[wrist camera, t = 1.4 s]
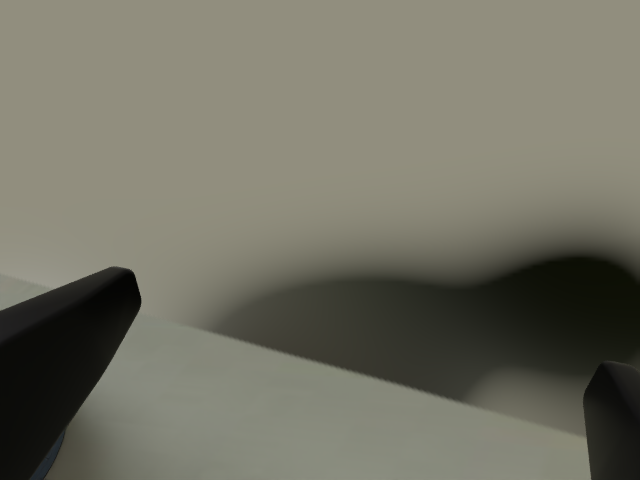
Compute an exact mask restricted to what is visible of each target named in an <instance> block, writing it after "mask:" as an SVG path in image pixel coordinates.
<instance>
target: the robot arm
mask: <svg viewBox="0 0 640 480" xmlns="http://www.w3.org/2000/svg"><path fill="white" fill-rule="evenodd" d="M140 307H141V296H140V292H139V289H138V285H137V281H136V278H135V275H134V273H133V272H132V271H131V270H130V269H126V268H121V267H109V268H107V269H104V270H102V271H100V272H97V273H94V274H92V275H89V276H87V277H84V278H82V279H79V280H77V281H74V282H72V283H69V284H67V285H64V286H62V287H59V288H57V289H54V290H52V291H49V292H47V293H44V294H42V295H39V296H36V297H34V298H31V299H29V300H26V301H24V302H21V303H19V304H16V305H14V306H11V307H9V308H6V309H4V310H1V311H0V480H30V479H31V477H32V476H33V475H34V473H35V472H36V470H37V469H38V467H39V466H40V465H41V463H42V462H43V460H44V459H45V457H46V456H47V454H48V453H49V452H50V450H51V449H52V447H53V446H54V444H55V443H56V441H57V440H58V439H59V437H60V436H61V434H62V433H63V431H64V430H65V428H66V427H67V426H68V424H69V423H70V421H71V420H72V418H73V417H74V416H75V414H76V413H77V411H78V410H79V408H80V407H81V405H82V404H83V403H84V401H85V400H86V398H87V397H88V395H89V394H90V392H91V391H92V390H93V388H94V387H95V385H96V384H97V382H98V381H99V379H100V378H101V376H102V375H103V373H104V372H105V370H106V369H107V367H108V365H109V363H110V362H111V360H112V358H113V357H114V355H115V353H116V351H117V349H118V348H119V346H120V344H121V342H122V340H123V339H124V337H125V335H126V333H127V331H128V330H129V328H130V326H131V324H132V322H133V321H134V319H135V317H136V315H137V313H138V312H139V310H140ZM583 407H584V417H585V426H586V435H587V445H588V454H589V463H590V472H591V480H640V372H639V371H638V370H636V369H635V368H634V367H633V366H630V365H628V364H623V363H617V362H612V361H604V362H602V363H601V364H600V365H599V367H598V368H597V370H596V372H595V374H594V376H593V378H592V379H591V381H590V383H589V385H588V386H587V388H586V390H585V393H584V397H583Z"/></svg>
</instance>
